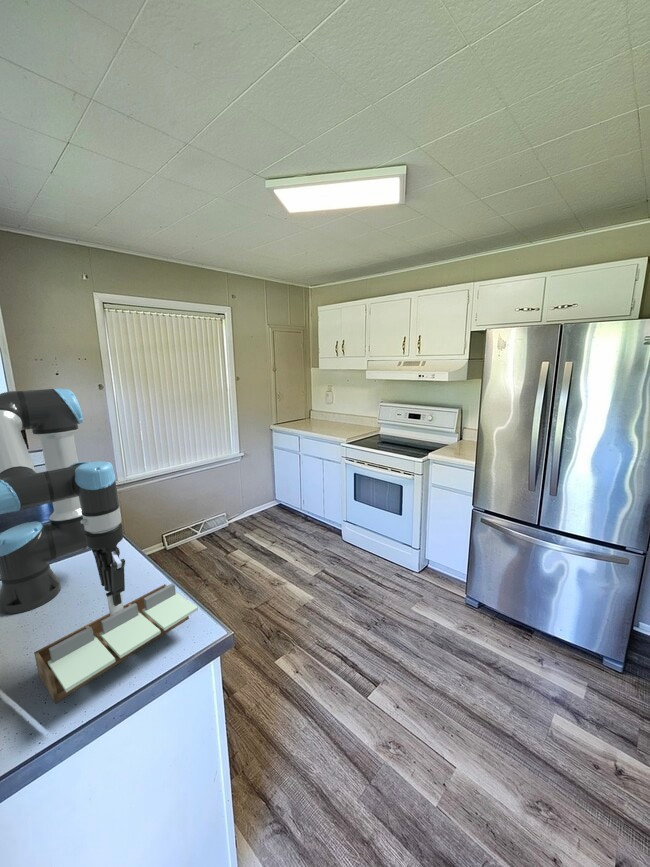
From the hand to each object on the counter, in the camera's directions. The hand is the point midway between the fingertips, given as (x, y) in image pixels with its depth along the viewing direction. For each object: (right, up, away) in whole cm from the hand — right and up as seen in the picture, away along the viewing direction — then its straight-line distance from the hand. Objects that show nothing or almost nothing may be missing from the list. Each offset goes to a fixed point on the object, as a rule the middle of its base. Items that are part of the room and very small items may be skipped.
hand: (117, 613), depth 88 cm
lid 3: (+11, -2, +5) cm, 12 cm away
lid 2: (+5, -3, -3) cm, 7 cm away
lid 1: (-1, -5, -11) cm, 12 cm away
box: (0, -10, +2) cm, 10 cm away
